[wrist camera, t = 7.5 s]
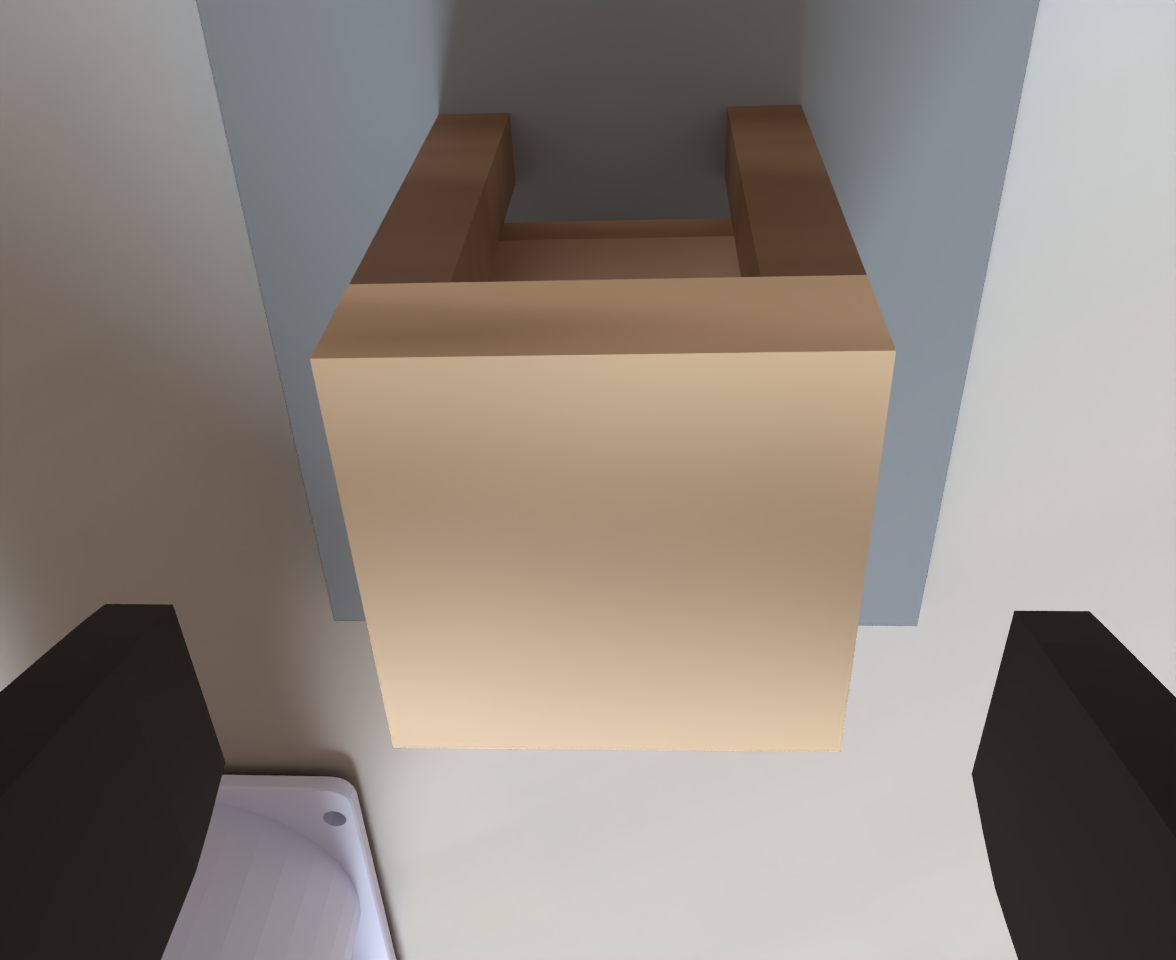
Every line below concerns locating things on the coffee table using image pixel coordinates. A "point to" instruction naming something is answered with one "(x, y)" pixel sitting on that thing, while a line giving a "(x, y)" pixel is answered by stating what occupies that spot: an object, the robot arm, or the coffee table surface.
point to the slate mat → (636, 172)
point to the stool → (610, 455)
